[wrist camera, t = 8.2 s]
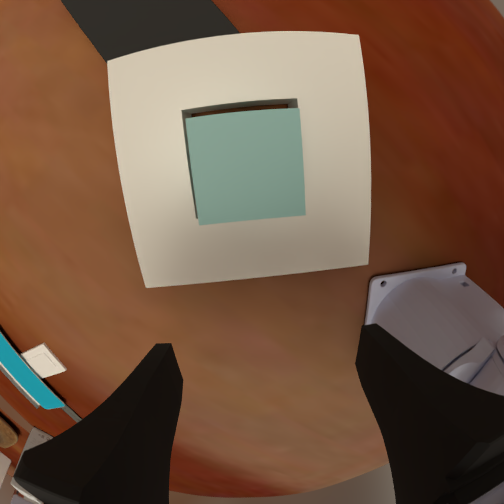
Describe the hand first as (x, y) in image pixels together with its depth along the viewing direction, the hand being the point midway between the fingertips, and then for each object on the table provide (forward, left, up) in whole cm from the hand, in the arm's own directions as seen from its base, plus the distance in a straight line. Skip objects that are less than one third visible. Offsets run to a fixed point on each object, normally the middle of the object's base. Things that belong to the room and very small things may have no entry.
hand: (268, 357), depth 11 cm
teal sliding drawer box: (+26, +10, -10) cm, 30 cm away
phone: (+6, -17, -10) cm, 21 cm away
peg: (0, -7, -9) cm, 11 cm away
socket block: (0, -7, -9) cm, 11 cm away
